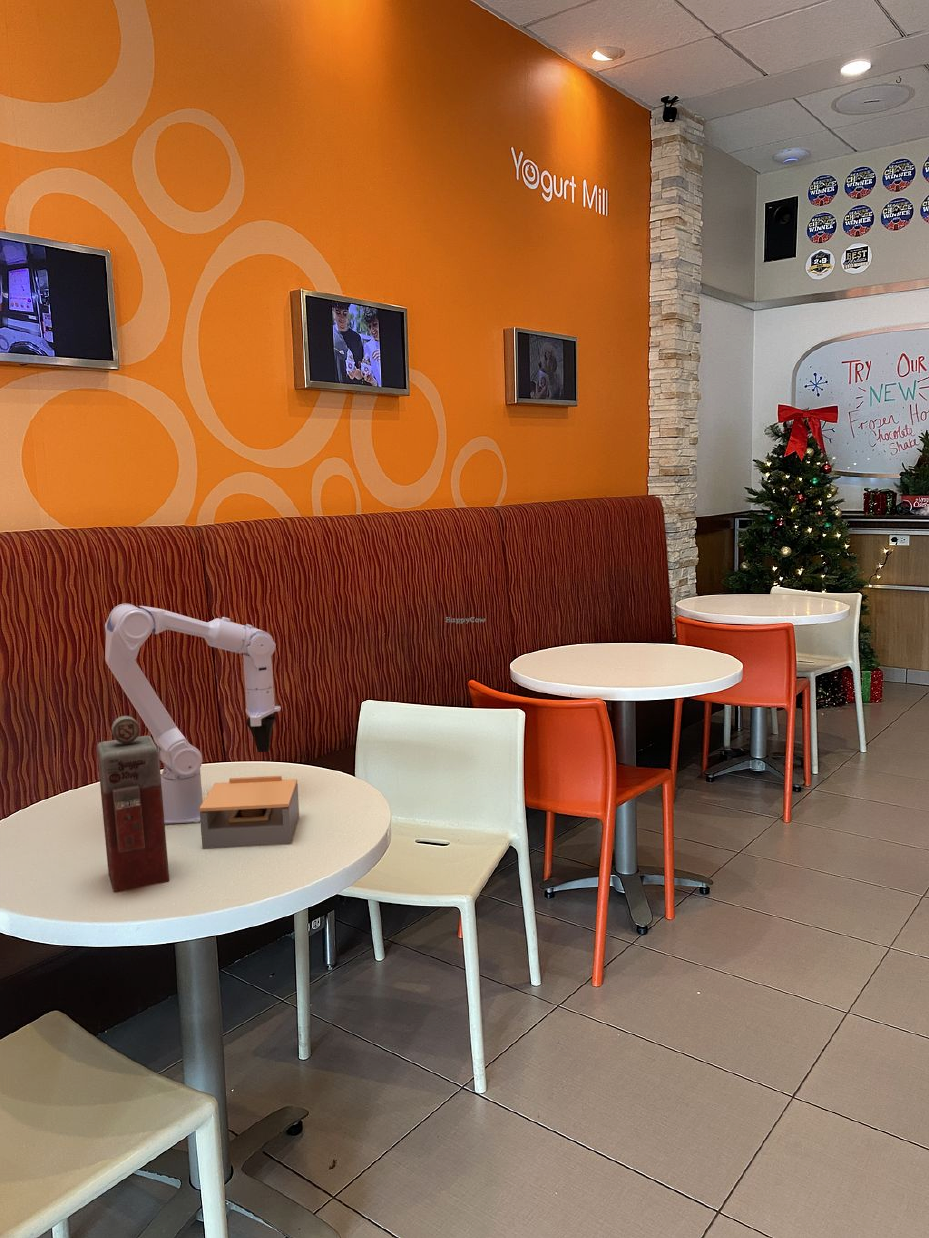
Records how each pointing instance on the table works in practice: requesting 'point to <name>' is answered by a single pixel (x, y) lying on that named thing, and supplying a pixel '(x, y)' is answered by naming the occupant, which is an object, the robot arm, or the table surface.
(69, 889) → the table surface
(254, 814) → the brown cylinder
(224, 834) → the housing
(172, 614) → the robot arm
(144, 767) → the vintage gas pump
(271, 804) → the lid
